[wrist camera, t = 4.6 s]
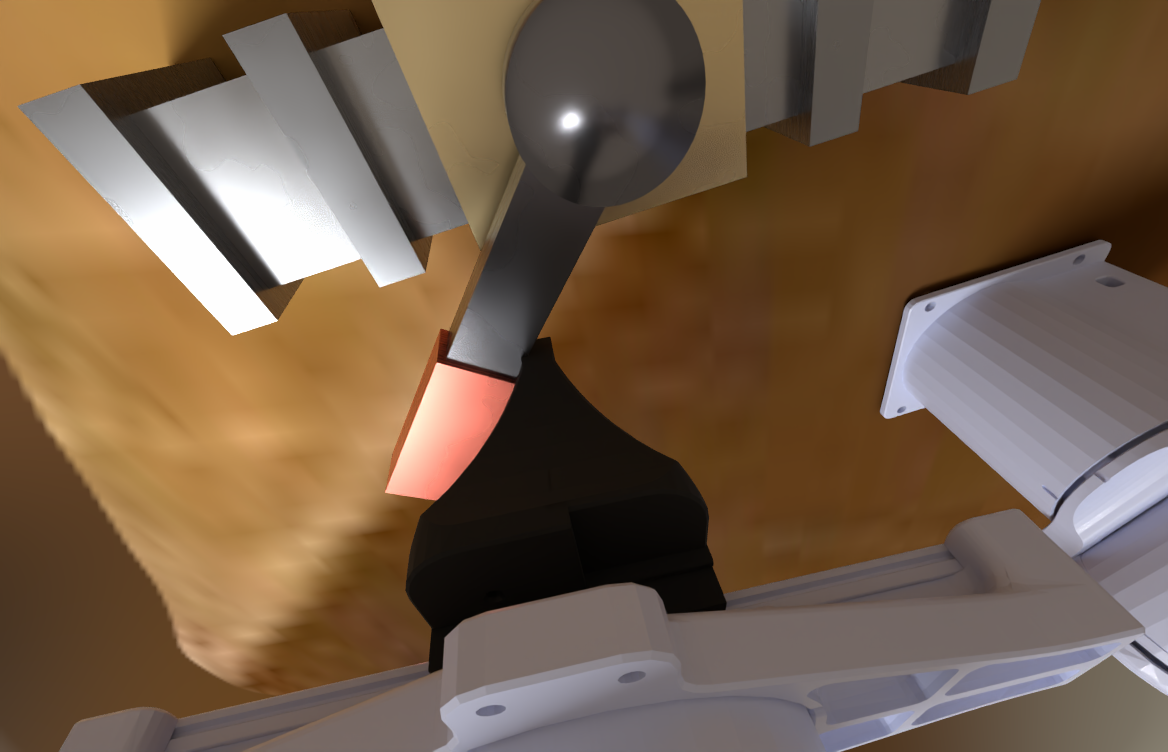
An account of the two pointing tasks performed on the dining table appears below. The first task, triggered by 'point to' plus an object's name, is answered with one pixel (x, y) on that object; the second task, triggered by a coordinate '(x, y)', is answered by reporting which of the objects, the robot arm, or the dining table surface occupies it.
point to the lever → (552, 203)
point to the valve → (453, 126)
